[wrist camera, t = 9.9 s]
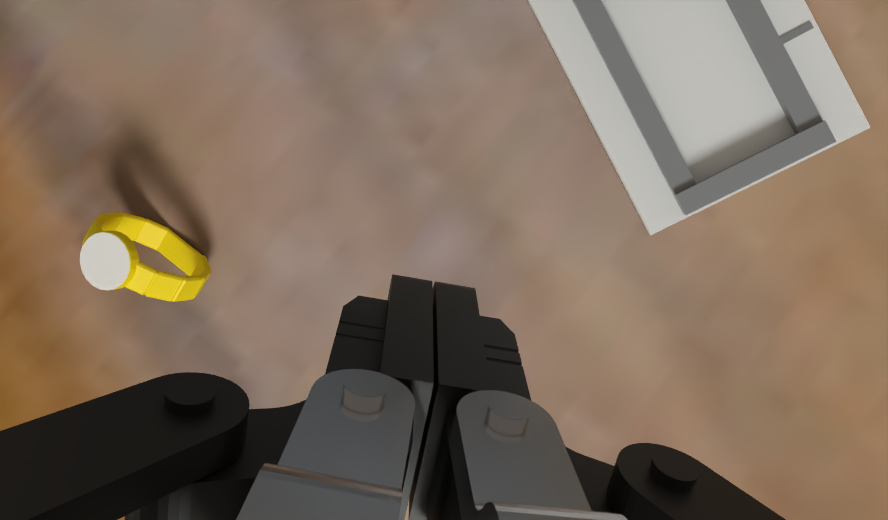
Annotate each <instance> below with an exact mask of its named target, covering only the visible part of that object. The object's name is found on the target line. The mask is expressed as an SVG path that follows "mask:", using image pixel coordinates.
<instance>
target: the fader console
mask: <svg viewBox="0 0 888 520" xmlns="http://www.w3.org/2000/svg"><path fill="white" fill-rule="evenodd" d="M528 2H529V4H530V6H531V8H532V10H533V12H534V14H535V16H536V18H537V20H538V22H539V24H540V25H541V27H542V29H543V31H544V33H545V35H546V37H547V39H548V41H549V43H550V45H551V47H552V49H553V50H554V52H555V54H556V56H557V58H558V60H559V62H560V64H561V66H562V68H563V70H564V72H565V74H566V76H567V77H568V79H569V81H570V83H571V85H572V87H573V89H574V91H575V93H576V95H577V97H578V99H579V101H580V102H581V104H582V106H583V108H584V110H585V112H586V114H587V116H588V118H589V120H590V122H591V124H592V126H593V127H594V129H595V131H596V133H597V135H598V137H599V139H600V141H601V143H602V145H603V147H604V149H605V151H606V153H607V154H608V156H609V158H610V160H611V162H612V164H613V166H614V168H615V170H616V172H617V174H618V176H619V178H620V179H621V181H622V183H623V185H624V187H625V189H626V191H627V193H628V195H629V197H630V199H631V201H632V203H633V204H634V206H635V208H636V210H637V212H638V214H639V216H640V218H641V220H642V222H643V224H644V226H645V228H646V230H647V231H648V233H649V235H652V234H654V233H656V232H658V231H660V230H662V229H664V228H666V227H668V226H671V225H673V224H675V223H677V222H679V221H681V220H683V219H685V218H687V217H689V216H691V215H693V214H695V213H697V212H699V211H701V210H703V209H705V208H707V207H709V206H711V205H713V204H715V203H718V202H720V201H722V200H724V199H726V198H728V197H730V196H732V195H734V194H736V193H738V192H740V191H742V190H744V189H746V188H748V187H750V186H752V185H754V184H756V183H758V182H760V181H762V180H764V179H767V178H769V177H771V176H773V175H775V174H777V173H779V172H781V171H783V170H785V169H787V168H789V167H791V166H793V165H795V164H797V163H799V162H801V161H803V160H805V159H807V158H809V157H811V156H814V155H816V154H818V153H820V152H822V151H824V150H826V149H828V148H830V147H832V146H834V145H836V144H838V143H840V142H842V141H844V140H846V139H848V138H850V137H852V136H854V135H856V134H858V133H861V132H863V131H865V130H867V129H869V128H871V127H870V125H869V123H868V121H867V119H866V118H865V116H864V114H863V112H862V110H861V108H860V106H859V104H858V102H857V100H856V98H855V96H854V94H853V93H852V91H851V89H850V87H849V85H848V83H847V81H846V79H845V77H844V75H843V73H842V71H841V70H840V68H839V66H838V64H837V62H836V60H835V58H834V56H833V54H832V52H831V50H830V48H829V46H828V45H827V43H826V41H825V39H824V37H823V35H822V33H821V31H820V29H819V27H818V25H817V23H816V21H815V20H814V18H813V16H812V14H811V12H810V10H809V8H808V6H807V4H806V2H805V0H528Z"/></svg>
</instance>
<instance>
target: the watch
mask: <svg viewBox="0 0 888 520" xmlns="http://www.w3.org/2000/svg"><path fill="white" fill-rule="evenodd" d="M131 240H132V241H134V240H135V241H136V242H138V243H140V244H143V245H145V246H148V247H150V248H153V249H155V250H158V251H159V252H160V253H161V254H163V255H164V256H165V257H166V258H167V259H169V260H170V261H171V262H172V263H174V264H175V265H176V266H177V267H179V268H180V269H181V270H182V271H184V272H185V273H186V274H187V275H189V276H183V277H182V276H179V275H175V274H171V273H167V272H163V271H159V270H158V271H157V270H156V269H154V268H152V267H150V266H148V265H146V264H144V263H141V262H139V256H138V252H137V249H136V247H135V245H134V243H133V242H132V241H131ZM82 246H83V247H82V250H81V253H80V264H81V269H82V272H83V274H84V276H85V278H86V279H87V280H88V281H89V282H90V284H91V285H93V286H95V287H96V288H98V289H102V290H114V289H119V288H123V287H126V288H128V289H130V290H133V291H135V292H137V293H139V294H141V295H144V294H145V295H146V296H147V297H152V298H156V299H161V300H165V301H172V302H174V301H184V300H191V299H194V298H195V296H196V295H197V294H198V293H199V292H200V291H201V289H202V287H203V285H204V284H205V282H206V280H207V279H208V277H209V275H210V273H211V269H210V266H209V263H208V260H207V258H206V256H205V255H204V256H203V255H202V254H200V253H199V252H198V251H197V250H195V249H194V248H193V247H191V246H190V245H189V244H188V243H186V242H185V241H184V240H183V239H181V238H180V237H179V236H178V235H176V234H175V233H174V232H173V231H171V230H170V229H169V228H168V227H165V226H163V225H161V224H158V223H156V222H154V221H152V220H149V219H145V218H144V217H140V216H135V215H131V214H127V213H121V212H115V213H103V214H100V215H99V216H98V217H97V218H96V219H95V220H94V221H93V223H92V225H91V227H90V228H89V230H88V232H87V234H86V236H85V238H84V240H83V242H82Z"/></svg>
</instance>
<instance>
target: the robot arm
mask: <svg viewBox="0 0 888 520" xmlns="http://www.w3.org/2000/svg"><path fill="white" fill-rule="evenodd" d="M521 364H522V362H521V358H520V354H519V353H518V346H517V342H516V338H515V334H514V333H513V332H512V331H511V330H510V329H509V328H508V327H507V326H506V325H505V324H504V323H503V322H502V321H501V320H500V319H496V318H490V317H484V316H479V309H478V303H477V297H476V290H475V288H470V287H464V286H458V285H453V284H447V283H441V282H435V283H434V286H433V290H432V281H428V280H423V279H417V278H411V277H405V276H399V275H393V274H392V279H391V284H390V289H389V295H388V300H382V299H376V298H370V297H364V296H357V297H356V298H355V299H353V300H352V301H350V302H349V303H347V304H346V305H344V306H343V309H342V313H341V317H340V321H339V324H338V328H337V332H336V336H335V339H334V343H333V347H332V351H331V354H330V358H329V362H328V365H327V369H326V373H325V375H323V376H322V377H320V378H319V379H318V380H317V381H316V382H315V383H314V384H313V386H312V388H311V390H310V393H309V395H308V397H307V399H306V400H304V401H302V402H300V403H297V404H294V405H290V406H285V407H280V408H268V409H249V399H248V397H247V394H246V393H245V392H244V391H243V389H242V388H240V387H239V386H238V385H237V384H235V383H233V382H232V381H230V380H227V379H225V378H222V377H219V376H215V375H211V374H205V373H175V374H169V375H164V376H161V377H157V378H154V379H151V380H148V381H146V382H143V383H140V384H137V385H134V386H131V387H128V388H125V389H122V390H119V391H116V392H113V393H110V394H108V395H105V396H102V397H99V398H96V399H93V400H90V401H87V402H84V403H81V404H78V405H75V406H72V407H70V408H67V409H64V410H61V411H58V412H55V413H52V414H49V415H46V416H43V417H40V418H37V419H34V420H32V421H29V422H26V423H23V424H20V425H17V426H14V427H11V428H8V429H5V430H2V431H0V520H118V519H120V518H122V517H124V516H125V520H404V519H405V514H406V510H407V505H408V500H409V520H786V519H784V518H783V517H781V516H780V515H778V514H777V513H775V512H774V511H772V510H771V509H769V508H768V507H766V506H765V505H763V504H762V503H760V502H759V501H757V500H756V499H754V498H753V497H751V496H750V495H748V494H747V493H745V492H744V491H742V490H741V489H739V488H738V487H736V486H735V485H733V484H732V483H730V482H729V481H727V480H726V479H725V478H723V477H722V476H720V475H719V474H717V473H716V472H714V471H713V470H711V469H710V468H708V467H707V466H705V465H704V464H702V463H701V462H699V461H698V460H696V459H694V458H693V457H691V456H689V455H687V454H685V453H683V452H680V451H678V450H676V449H673V448H670V447H667V446H663V445H658V444H651V443H637V444H632V445H629V446H627V447H625V448H623V449H622V450H621V451H620V453H619V455H618V457H617V460H616V463H615V466H612V465H610V464H607V463H604V462H601V461H598V460H596V459H593V458H590V457H587V456H584V455H582V454H579V453H577V452H575V451H573V450H571V449H569V448H567V447H565V445H564V443H563V440H562V438H561V435H560V433H559V430H558V428H557V426H556V423H555V422H554V420H553V418H552V417H551V416H550V414H549V413H548V412H546V411H545V410H544V409H543V408H542V407H540V406H539V405H538V404H536V403H534V402H532V401H531V398H530V394H529V390H528V386H527V382H526V378H525V374H524V370H523V366H521Z"/></svg>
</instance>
